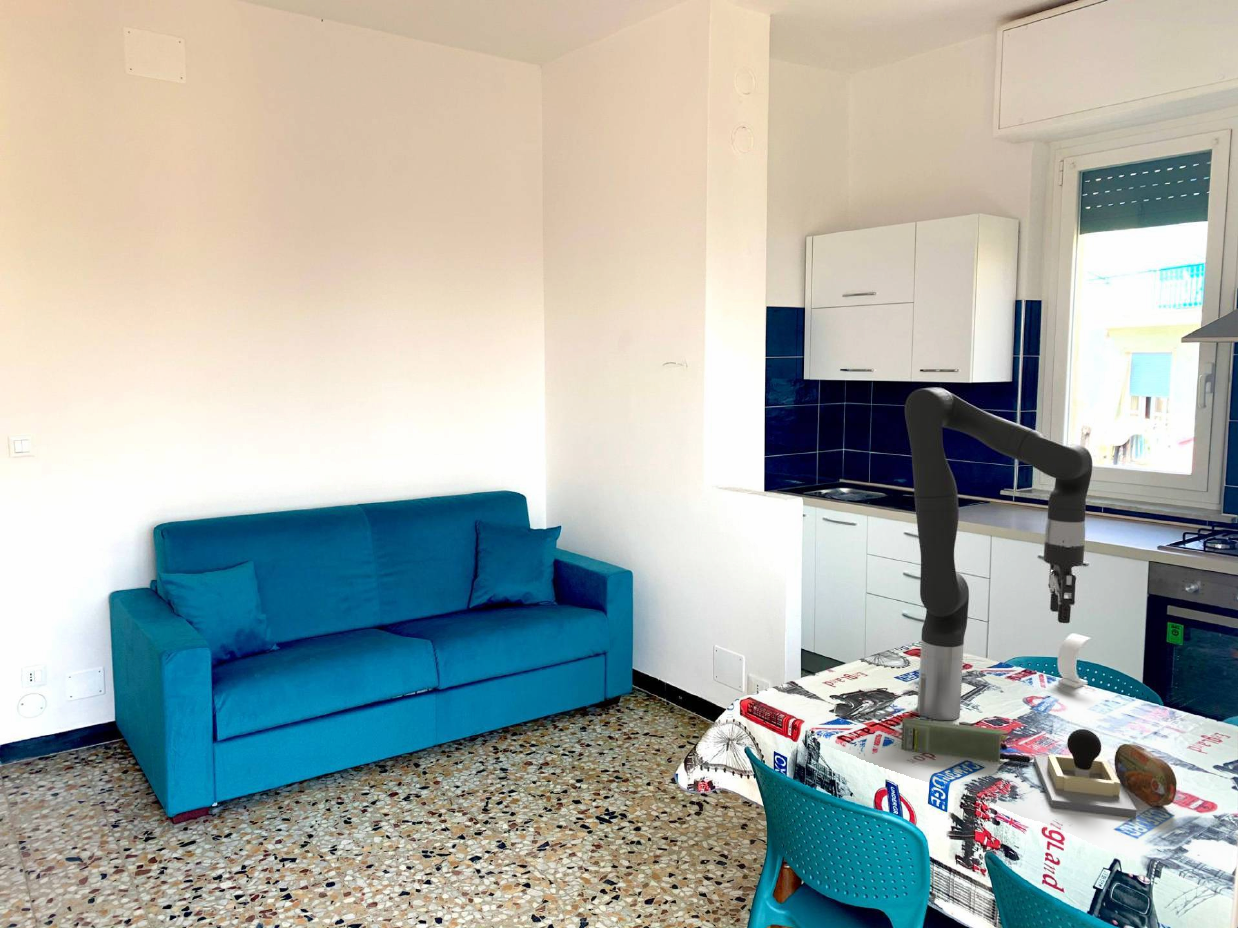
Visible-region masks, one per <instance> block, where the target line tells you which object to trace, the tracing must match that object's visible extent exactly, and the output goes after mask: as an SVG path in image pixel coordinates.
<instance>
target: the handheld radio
mask: <svg viewBox="0 0 1238 928" xmlns="http://www.w3.org/2000/svg"><path fill="white" fill-rule="evenodd" d="M901 725H902V727H901V745H900V746H901V750H903V751H910V752H916V753H917V752H918V753H924V754H932V755H940V756H945V757H946V756H948V757H952V758H953V757H954V758H963V759H969V760H970V759H971V760H976V761H984V762H991V763H992V762H993V763H1000V762H1001V760H1002V761H1003V760H1008V761H1009V762H1017V763H1018V762H1019V763H1026V764H1030V762H1031V758H1030V756H1028V755H1022V754H1021V755H1020V754H1012V753H1008V754H1006V753H1003V752H1001V751H1002V750H1003V751H1005V750H1007V749H1008V746H1007V744H1006V743H1002V741H1007V736H1006V735H1005V734H1008V732H1007V730H1004V729H999V728H992V727H991V728H989V727H981V726H972V725H967V724H966V725H965V724H958V723H948V722H940V721H933V720H923V719H915V718H908V717H902V724H901Z"/></svg>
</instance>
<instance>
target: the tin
mask: <svg viewBox="0 0 1238 928" xmlns="http://www.w3.org/2000/svg"><path fill="white" fill-rule="evenodd" d="M1114 772H1115V773H1116V775H1117V777H1118V779H1119V780H1120V782H1121V784H1122V785H1123V787H1124V789H1125V788H1126V789H1127V790H1129V792H1131V793H1133V794H1134V795H1135V796H1137V797H1138V798H1139V799H1140V800H1142V801H1144V802H1145V803H1146V804H1148V805H1150V806H1152V807H1157V806H1159V807H1164V806H1170V805H1171V804H1172V803H1173V802H1174V801H1175V798H1176V793H1177V784H1178V783H1177V777H1176V775H1175V773H1174V771H1173V768H1172V767H1171V766H1170V765H1169V763H1167V762H1166V761H1164V760H1163V759H1161V758H1160V757H1158V756H1157V755H1155V754H1154V753H1152V752H1150V751H1149V750H1147V749H1145V748H1144V747H1142V746H1141V745H1138V744H1137V745H1136V744H1129V743H1128V744H1127V743H1123V744H1121V745H1119V747H1118V748H1117V749H1116V751H1115V754H1114Z"/></svg>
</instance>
